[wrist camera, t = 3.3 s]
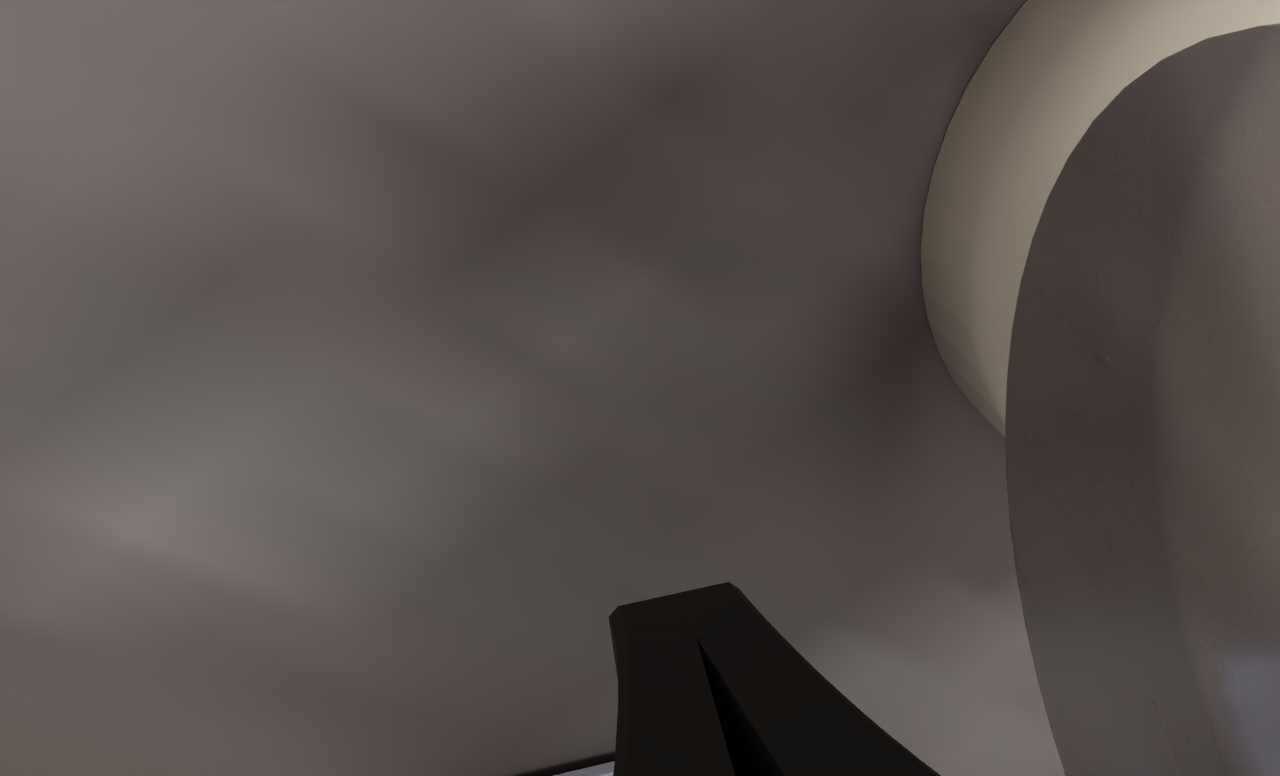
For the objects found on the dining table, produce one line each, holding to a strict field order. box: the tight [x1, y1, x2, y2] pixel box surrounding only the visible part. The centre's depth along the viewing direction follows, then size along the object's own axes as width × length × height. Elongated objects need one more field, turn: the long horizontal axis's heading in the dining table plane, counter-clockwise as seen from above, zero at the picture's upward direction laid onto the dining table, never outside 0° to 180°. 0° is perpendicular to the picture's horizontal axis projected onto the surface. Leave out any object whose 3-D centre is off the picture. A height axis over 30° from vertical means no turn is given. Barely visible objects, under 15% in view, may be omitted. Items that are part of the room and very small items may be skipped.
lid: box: [1005, 23, 1280, 776], centre depth 12 cm, size 12×12×2 cm
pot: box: [921, 0, 1280, 438], centre depth 22 cm, size 23×12×5 cm, turn 6°
